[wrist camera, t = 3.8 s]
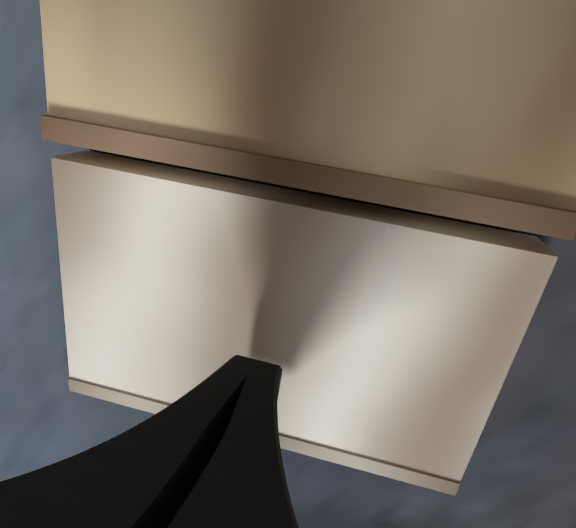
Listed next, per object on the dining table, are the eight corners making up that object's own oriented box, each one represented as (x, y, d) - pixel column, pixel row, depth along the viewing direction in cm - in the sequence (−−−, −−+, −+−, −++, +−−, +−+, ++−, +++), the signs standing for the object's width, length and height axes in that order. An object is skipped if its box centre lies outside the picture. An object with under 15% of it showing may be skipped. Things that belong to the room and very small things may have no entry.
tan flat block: (536, 236, 11) (559, 258, 10) (447, 456, 14) (454, 496, 13) (86, 150, 13) (49, 157, 11) (96, 364, 16) (69, 391, 15)
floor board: (652, -60, 9) (719, -100, 7) (542, 218, 11) (572, 240, 9) (78, -119, 10) (17, -162, 9) (87, 133, 13) (41, 139, 11)
